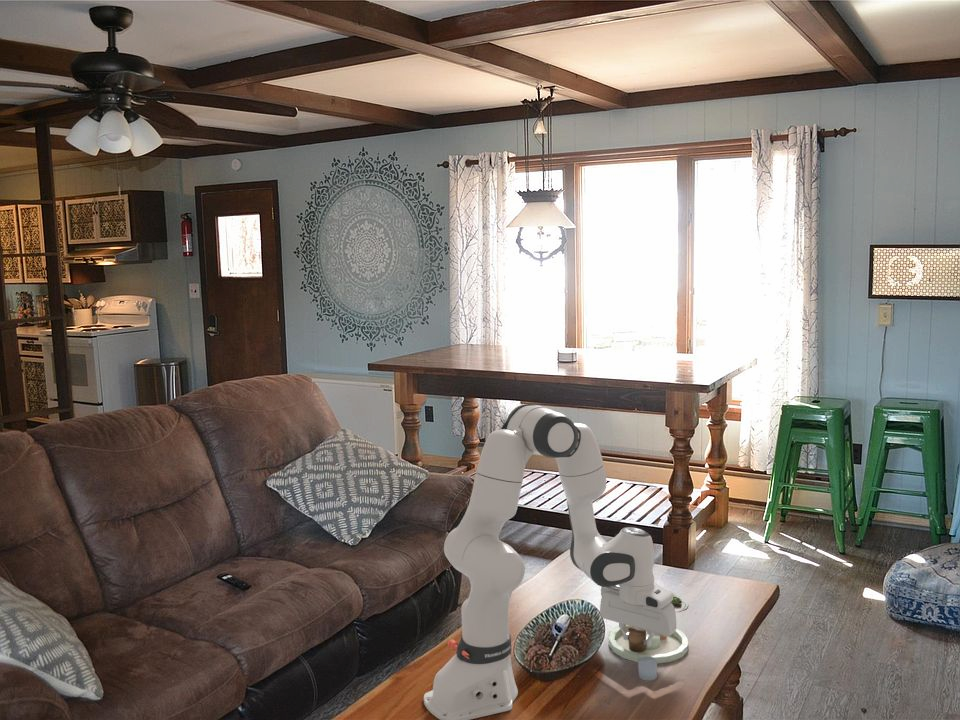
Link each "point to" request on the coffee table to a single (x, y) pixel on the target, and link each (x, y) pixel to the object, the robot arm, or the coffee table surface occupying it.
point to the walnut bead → (636, 639)
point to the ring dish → (662, 650)
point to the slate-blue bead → (647, 668)
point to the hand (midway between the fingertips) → (637, 642)
